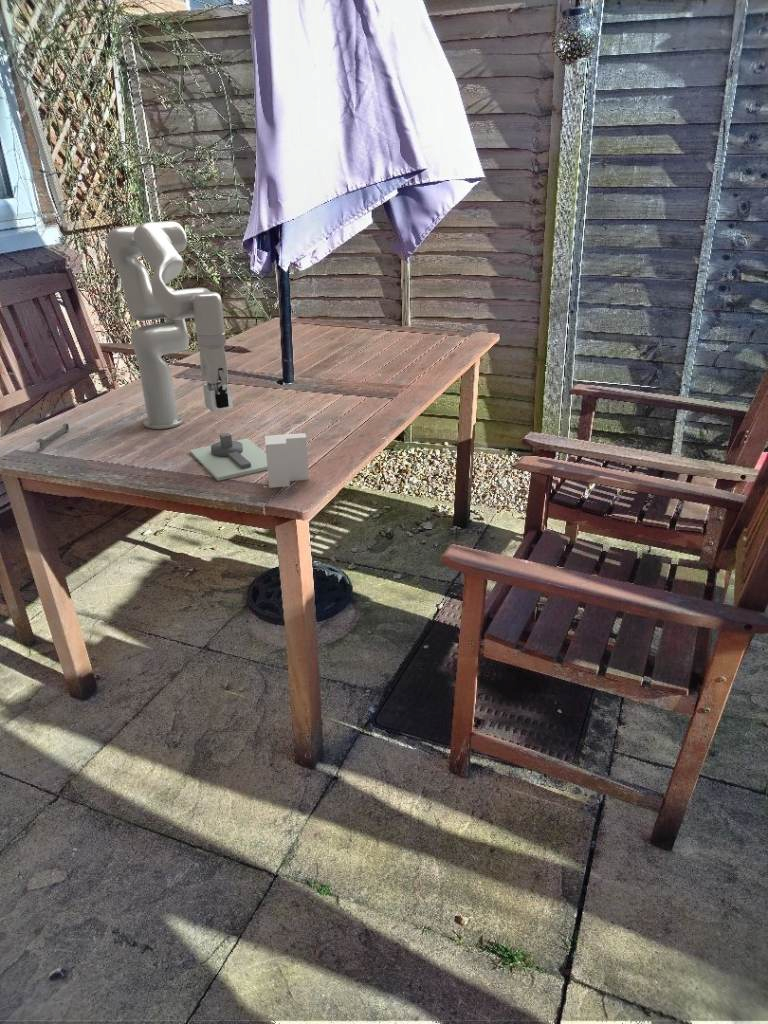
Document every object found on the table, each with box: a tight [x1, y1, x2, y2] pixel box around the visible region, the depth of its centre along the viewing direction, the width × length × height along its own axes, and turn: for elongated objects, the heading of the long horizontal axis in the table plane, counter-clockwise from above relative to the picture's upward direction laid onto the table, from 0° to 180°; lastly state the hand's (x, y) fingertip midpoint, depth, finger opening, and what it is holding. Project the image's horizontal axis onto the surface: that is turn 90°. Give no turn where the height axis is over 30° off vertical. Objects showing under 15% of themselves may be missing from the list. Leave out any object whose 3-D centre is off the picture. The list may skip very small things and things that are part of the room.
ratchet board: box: [189, 432, 268, 482], centre depth 201 cm, size 24×18×6 cm
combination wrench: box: [35, 423, 70, 452], centre depth 217 cm, size 4×1×20 cm
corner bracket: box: [264, 432, 310, 488], centre depth 188 cm, size 11×11×12 cm
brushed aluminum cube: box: [202, 384, 234, 413], centre depth 198 cm, size 6×6×6 cm
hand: (219, 403), depth 198 cm, fingers closed on brushed aluminum cube, 6 cm apart
